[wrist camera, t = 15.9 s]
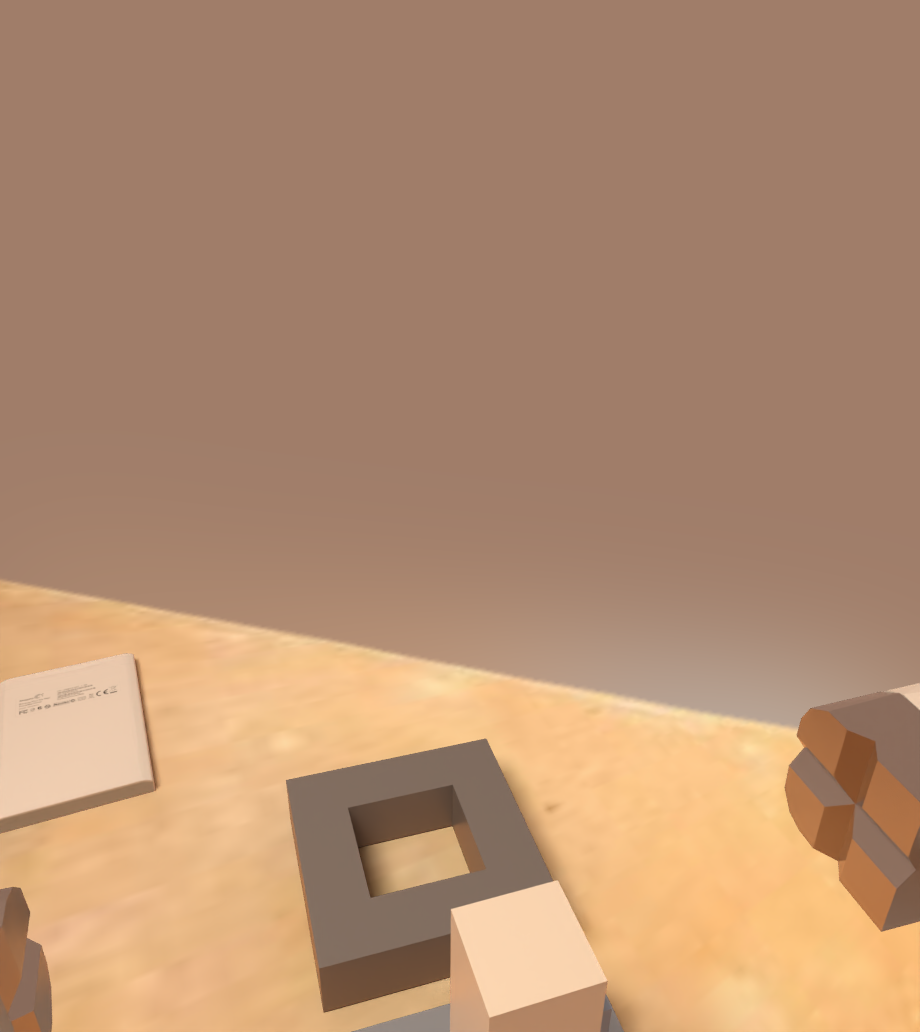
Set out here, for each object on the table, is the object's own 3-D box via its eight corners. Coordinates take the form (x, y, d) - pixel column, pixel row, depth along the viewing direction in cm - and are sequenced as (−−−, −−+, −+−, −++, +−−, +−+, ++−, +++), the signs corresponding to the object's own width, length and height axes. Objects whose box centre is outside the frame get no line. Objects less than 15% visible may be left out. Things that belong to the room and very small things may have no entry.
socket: (323, 1012, 38) (319, 968, 37) (290, 821, 47) (286, 780, 46) (559, 946, 41) (563, 903, 39) (484, 778, 50) (486, 738, 49)
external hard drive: (-4, 843, 47) (3, 699, 57) (157, 798, 49) (137, 668, 59) (-11, 821, 46) (-3, 679, 56) (152, 777, 49) (133, 649, 59)
